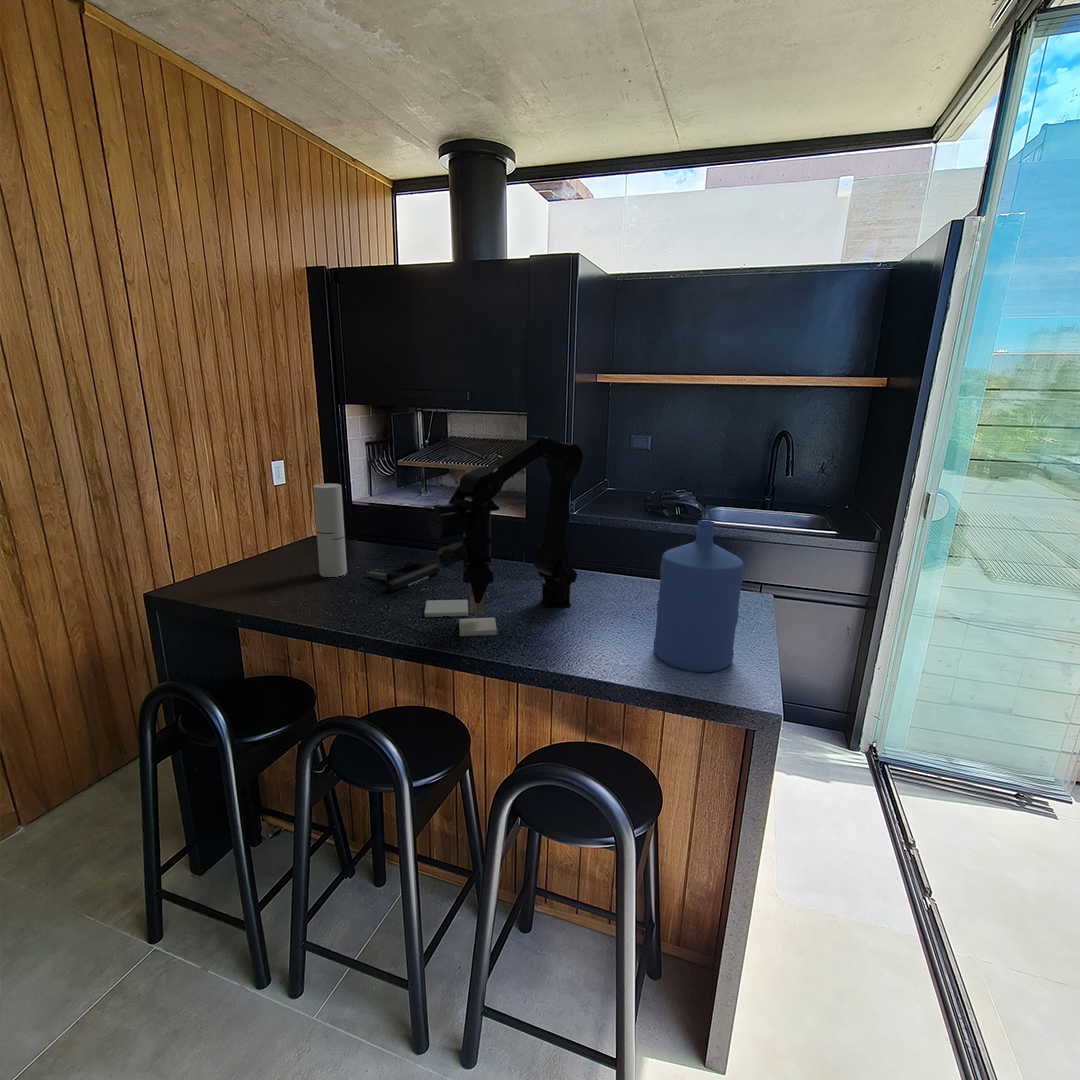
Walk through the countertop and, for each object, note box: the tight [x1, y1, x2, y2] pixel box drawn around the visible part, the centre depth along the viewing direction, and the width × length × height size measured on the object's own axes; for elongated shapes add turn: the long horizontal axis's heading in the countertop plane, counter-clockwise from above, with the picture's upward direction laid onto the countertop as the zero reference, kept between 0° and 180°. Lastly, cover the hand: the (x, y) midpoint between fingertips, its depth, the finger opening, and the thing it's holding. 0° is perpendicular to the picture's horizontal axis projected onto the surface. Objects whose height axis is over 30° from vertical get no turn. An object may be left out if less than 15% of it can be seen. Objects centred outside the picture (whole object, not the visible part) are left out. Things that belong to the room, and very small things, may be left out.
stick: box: [469, 583, 485, 614], centre depth 125 cm, size 3×3×9 cm
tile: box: [458, 617, 498, 637], centre depth 125 cm, size 8×2×7 cm
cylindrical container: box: [312, 483, 348, 578], centre depth 155 cm, size 7×7×25 cm
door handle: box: [366, 561, 440, 592], centre depth 156 cm, size 3×20×16 cm
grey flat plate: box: [424, 599, 469, 618], centre depth 135 cm, size 10×8×1 cm
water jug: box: [653, 519, 745, 673], centre depth 111 cm, size 16×16×28 cm
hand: (477, 600), depth 125 cm, fingers closed on stick, 3 cm apart
